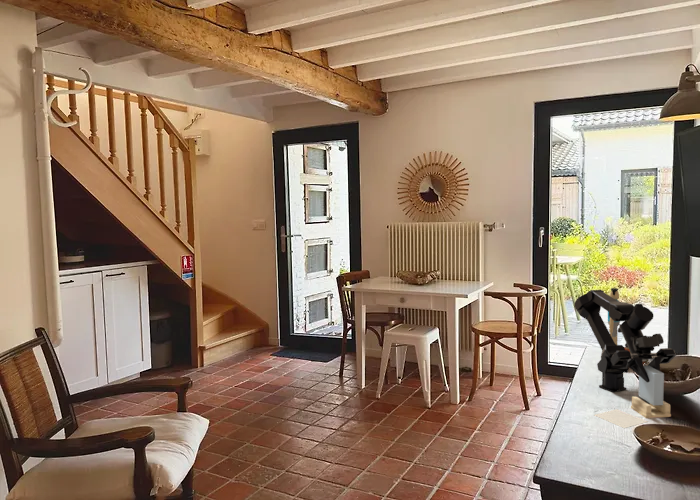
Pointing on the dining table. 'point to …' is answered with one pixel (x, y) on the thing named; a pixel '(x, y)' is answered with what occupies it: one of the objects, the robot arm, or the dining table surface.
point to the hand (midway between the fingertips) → (653, 381)
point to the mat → (620, 418)
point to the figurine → (612, 324)
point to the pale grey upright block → (652, 386)
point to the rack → (650, 408)
